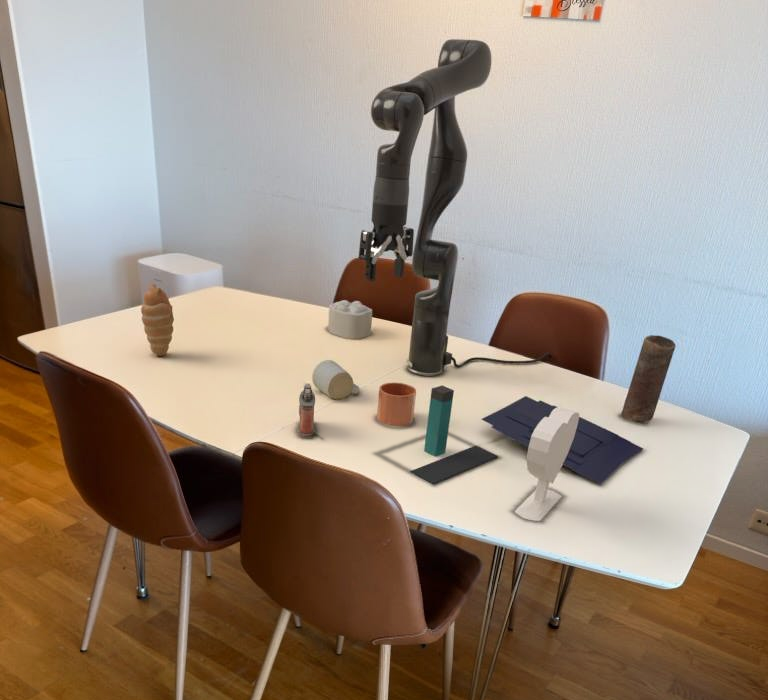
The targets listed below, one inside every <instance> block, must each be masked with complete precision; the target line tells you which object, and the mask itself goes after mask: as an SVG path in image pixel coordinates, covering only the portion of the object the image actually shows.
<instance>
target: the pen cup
mask: <svg viewBox="0 0 768 700" xmlns="http://www.w3.org/2000/svg"><path fill="white" fill-rule="evenodd" d="M416 397H417V389H416V388H415V387H414V386H412V385H410V384H407V383H403V382H385V383H382V384H380V385H379V388H378V399H377V413H376V419H377V421H379V423H381V424H385V425H387V426H392V427H404V426H409V425H411V424H412V423H413V421H414V415H415V407H416Z"/></svg>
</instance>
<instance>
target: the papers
mask: <svg viewBox="0 0 768 700" xmlns="http://www.w3.org/2000/svg"><path fill="white" fill-rule="evenodd" d="M557 407H558V406H556V405H554V404H553V405H552V404H550V403H548V402H545V401H543V400H540V399H539V400H535V399H533V398H531V397H529V396H528V395H524V396H523V397H521V398H519V399H518V400H516V401H514V402H512V403H510V404H508V405H506V406H505V407H502V408H501V409H498V410H496V411H494V412H493V413H491V414H489V415H486V416H484V417H482V418H481V420H482V421H483V422H486V423H487V424H489V425H491V428H492V429H494V430H495V431H498V432H499V433H501V434H502V435H504V436H505V437H507V438H509V439H510V440H512V441H514V442H515V443H520V444H522V445H523V446H525V447H527V448H528V447H529V443H530V439H531V436H532V434H533V432H534V430H535V428H536V427H537V425H538V424H539V422H540V421H541V420H542V419H543V418H544V417H548V418H549V416H550V414H551V412H552V411H553V410H554V409H555V408H557ZM643 450H644V448H643V447H642V446H640V445H638V444H636V443H633V442H632V441H630V440H628V439H627V438H624V437H622V436H620V435H619V434H618V433H615V432H612V431H610V430H608V429H606V428H604V427H602V426H600V425H598V424H597V423H593V422H592V421H590V420H587V419H586V418H583V417H581V416H579V420H578V425H577V429H576V432H575V436H574V439H573V442H572V444H571V447H570V449H569V452H568V454H567V456H566V458H565V460H564V463H563V465H562V466H565V467H566V468H569V470H571V471H573V472H575V473H577V474H579V475H580V476H582V477H585V478H587V479H588V480H591V481H594V482H595V483H597V484H599V485H602V484H603V482H605V481H606V480H607V479H608V478H609V477H610V476H611V475H612V474H613V473H614V472H615V471H616V470H617V469H618V468H619V467H620V466H621V465H622V464H624V463H626V462H627V461H628V460H629V459H632V458H633V457H634V456H636V455H637V454H638V453H641V451H643Z"/></svg>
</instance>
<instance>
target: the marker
mask: <svg viewBox="0 0 768 700" xmlns="http://www.w3.org/2000/svg"><path fill="white" fill-rule="evenodd" d="M430 391H431V393H430V400H429V407H428V415H427V422H426V423H427V425H426V433H425V441H424V449H423V452H425V453H427V454H429V455H431V456H432V457H435V458H436V457H439V456H441V455H443V454H446V450H447V442H448V436H449V429H450V424H451V423H450V422H451V415H452V408H453V402H454V401H453V400H454V393H455V390H454V389H452V388H449V387H447V386H445V385H438V386H435V387H432V388H431V390H430Z"/></svg>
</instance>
